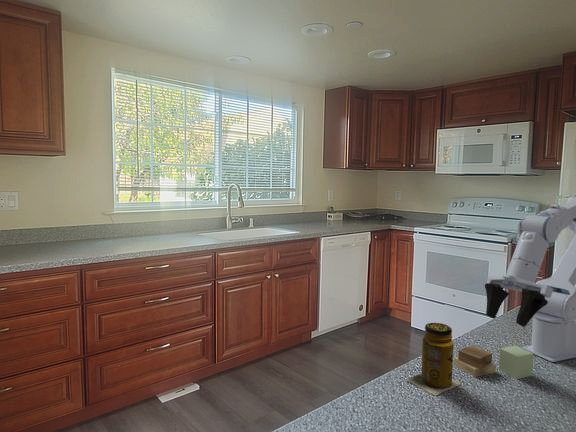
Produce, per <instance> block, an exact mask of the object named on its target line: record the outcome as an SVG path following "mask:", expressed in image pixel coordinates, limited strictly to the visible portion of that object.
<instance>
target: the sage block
mask: <svg viewBox="0 0 576 432" xmlns="http://www.w3.org/2000/svg"><path fill="white" fill-rule="evenodd" d="M533 368H534V354H533V353H531V352H528V351H526V350H524V349H523V347H519V346H517V345H511V346H505V347H501V348H499V361H498V370H499V371H500V372H502V373H504V374H506V375H508V376H510V377H512V378H513V379H515V380H519V379H523V378H528V377H532V376H533V370H534V369H533Z"/></svg>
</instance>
